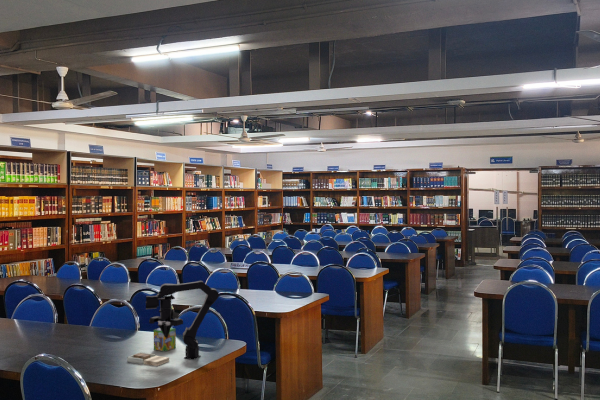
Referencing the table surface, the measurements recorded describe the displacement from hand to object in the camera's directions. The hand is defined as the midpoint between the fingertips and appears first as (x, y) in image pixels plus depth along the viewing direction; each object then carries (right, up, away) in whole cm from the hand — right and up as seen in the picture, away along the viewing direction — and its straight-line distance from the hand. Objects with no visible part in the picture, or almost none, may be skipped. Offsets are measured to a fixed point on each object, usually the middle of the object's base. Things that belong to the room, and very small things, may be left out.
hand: (166, 337), depth 277 cm
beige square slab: (-4, -12, -5) cm, 13 cm away
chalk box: (-7, -13, +22) cm, 26 cm away
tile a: (-11, -12, -1) cm, 16 cm away
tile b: (-15, -12, +1) cm, 19 cm away
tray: (-13, -12, 0) cm, 18 cm away
